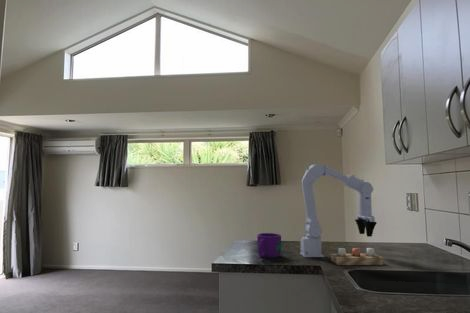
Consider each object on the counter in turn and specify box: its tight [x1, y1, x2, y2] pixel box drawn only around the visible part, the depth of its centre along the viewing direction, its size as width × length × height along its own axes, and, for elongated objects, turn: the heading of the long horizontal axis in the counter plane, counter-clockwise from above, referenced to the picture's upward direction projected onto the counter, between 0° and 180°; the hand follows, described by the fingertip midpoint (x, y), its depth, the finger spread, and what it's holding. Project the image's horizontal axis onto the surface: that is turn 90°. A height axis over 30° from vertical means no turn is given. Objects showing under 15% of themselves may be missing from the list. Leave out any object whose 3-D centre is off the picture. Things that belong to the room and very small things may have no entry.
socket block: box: [330, 253, 384, 266], centre depth 146 cm, size 20×8×3 cm, turn 94°
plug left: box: [337, 247, 347, 257], centre depth 146 cm, size 3×3×3 cm
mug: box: [256, 232, 282, 259], centre depth 156 cm, size 17×11×10 cm, turn 152°
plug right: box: [366, 247, 375, 257], centre depth 147 cm, size 3×3×3 cm
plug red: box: [352, 247, 361, 257], centre depth 146 cm, size 3×3×3 cm
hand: (365, 235), depth 160 cm, fingers open, 7 cm apart
